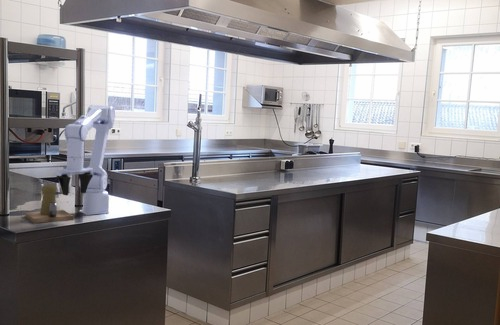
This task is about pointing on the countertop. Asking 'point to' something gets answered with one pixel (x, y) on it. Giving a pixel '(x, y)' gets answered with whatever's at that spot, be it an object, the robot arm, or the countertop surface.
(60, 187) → the cup
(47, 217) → the board
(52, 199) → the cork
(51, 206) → the steel dowel
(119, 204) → the countertop surface
